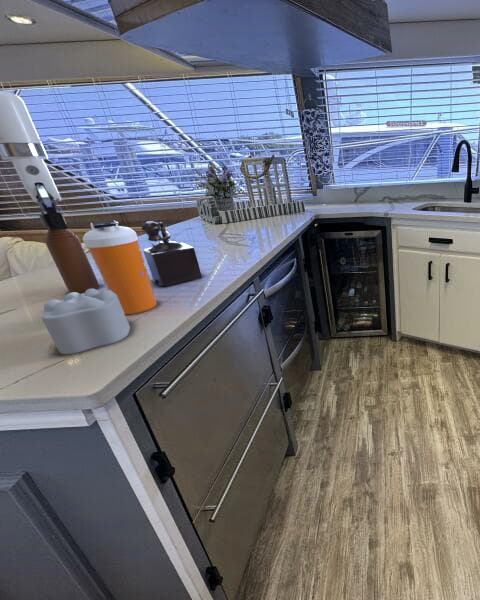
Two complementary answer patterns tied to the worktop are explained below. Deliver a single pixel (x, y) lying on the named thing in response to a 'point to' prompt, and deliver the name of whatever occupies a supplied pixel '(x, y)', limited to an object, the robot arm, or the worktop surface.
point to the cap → (44, 220)
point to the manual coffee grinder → (169, 257)
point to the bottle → (71, 260)
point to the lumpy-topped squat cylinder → (85, 320)
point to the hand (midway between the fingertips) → (57, 227)
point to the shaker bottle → (121, 265)
